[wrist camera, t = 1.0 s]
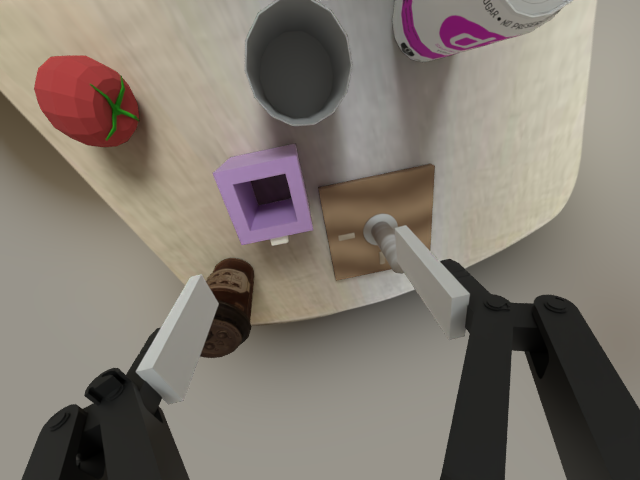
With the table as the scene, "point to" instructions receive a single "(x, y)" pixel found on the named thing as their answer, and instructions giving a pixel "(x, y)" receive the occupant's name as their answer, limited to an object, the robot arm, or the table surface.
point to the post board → (376, 218)
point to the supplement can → (465, 24)
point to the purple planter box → (270, 217)
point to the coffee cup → (229, 307)
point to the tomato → (86, 100)
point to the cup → (298, 61)
